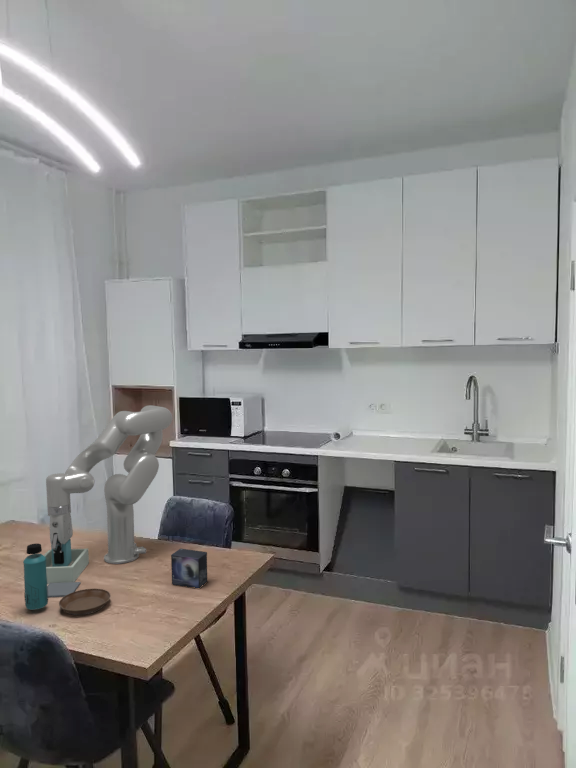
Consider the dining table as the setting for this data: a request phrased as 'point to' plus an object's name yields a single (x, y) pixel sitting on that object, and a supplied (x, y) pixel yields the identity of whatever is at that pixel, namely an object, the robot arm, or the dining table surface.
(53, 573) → the frame
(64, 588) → the mat
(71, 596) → the saucer
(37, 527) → the dining table surface
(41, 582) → the beverage bottle
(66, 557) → the block
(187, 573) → the small box
